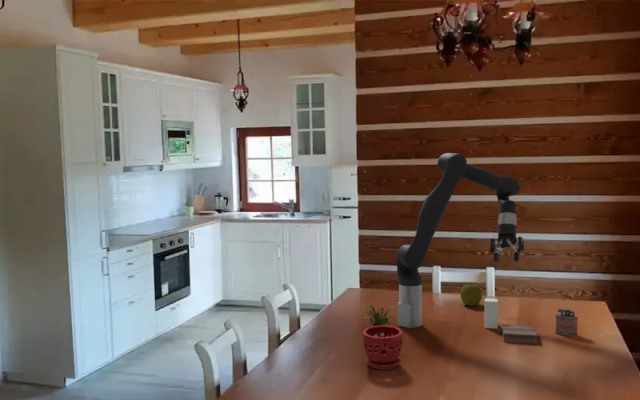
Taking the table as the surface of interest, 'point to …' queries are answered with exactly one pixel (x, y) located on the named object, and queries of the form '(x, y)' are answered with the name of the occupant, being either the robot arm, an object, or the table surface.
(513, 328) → the walnut base
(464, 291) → the apple
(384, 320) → the house plant
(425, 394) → the table surface
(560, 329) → the lighter
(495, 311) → the sage pillar
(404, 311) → the robot arm
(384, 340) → the plant pot
